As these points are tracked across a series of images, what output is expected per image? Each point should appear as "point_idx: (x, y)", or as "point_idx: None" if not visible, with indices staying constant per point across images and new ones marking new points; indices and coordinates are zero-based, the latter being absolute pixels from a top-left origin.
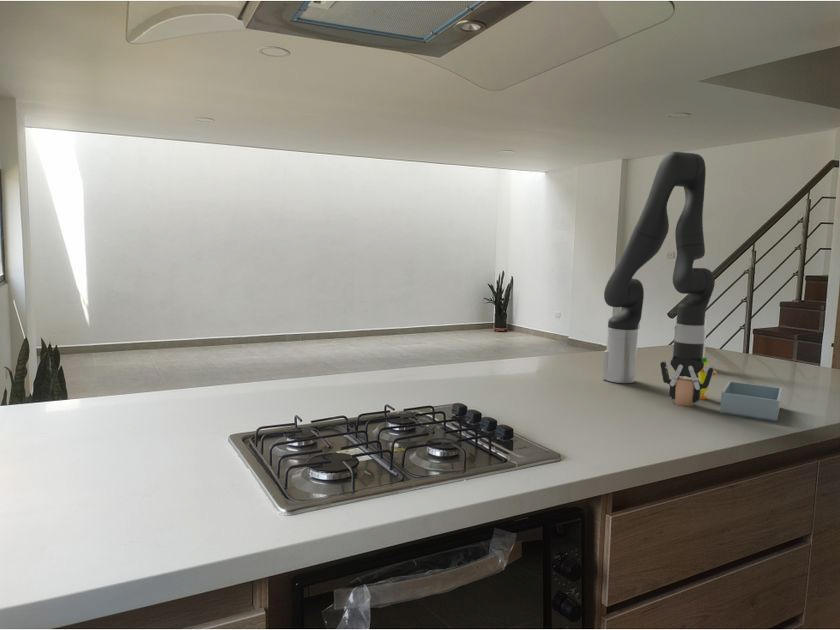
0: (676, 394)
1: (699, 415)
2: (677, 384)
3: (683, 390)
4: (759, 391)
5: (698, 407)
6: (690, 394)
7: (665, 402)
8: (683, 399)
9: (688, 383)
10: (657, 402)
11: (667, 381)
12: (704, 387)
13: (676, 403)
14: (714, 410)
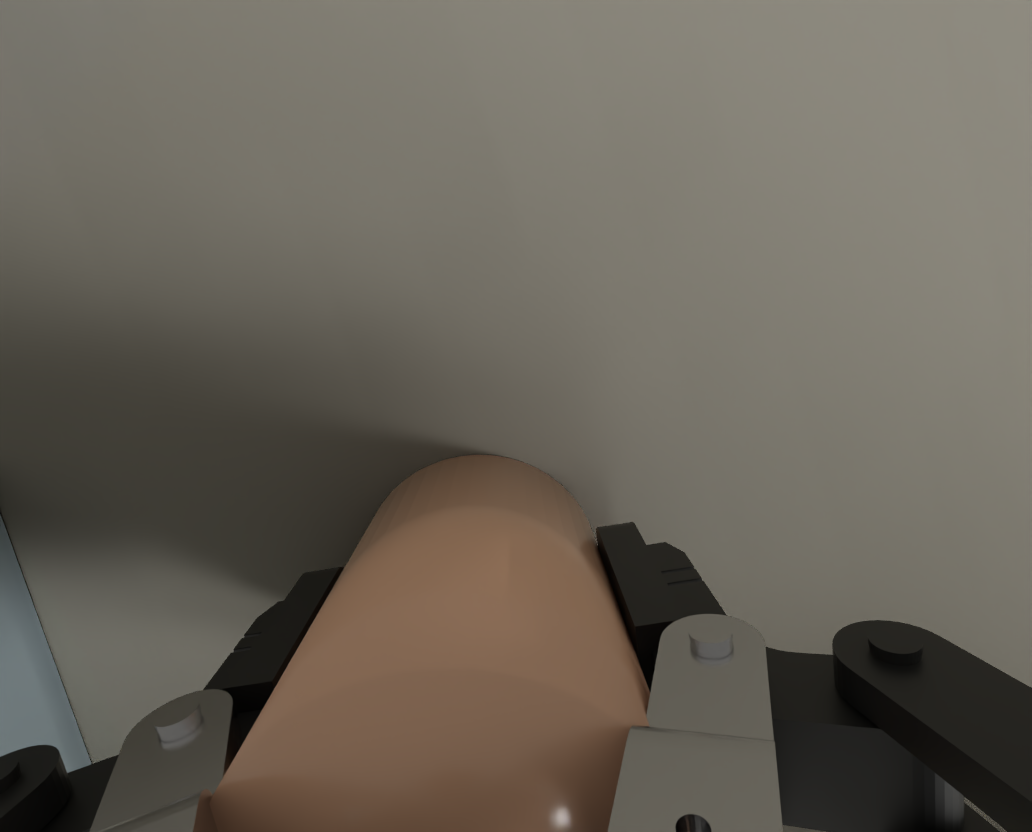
0: (566, 532)
1: (89, 110)
2: (583, 624)
3: (433, 542)
4: None
5: (282, 531)
6: (339, 578)
7: (682, 458)
8: (442, 489)
9: (308, 672)
10: (766, 374)
11: (842, 653)
12: (20, 761)
13: (542, 474)
14: (86, 537)
